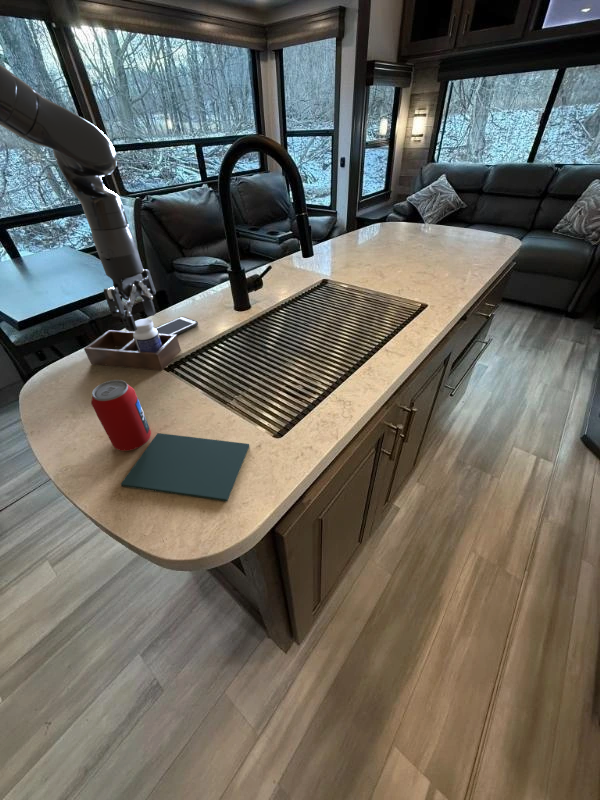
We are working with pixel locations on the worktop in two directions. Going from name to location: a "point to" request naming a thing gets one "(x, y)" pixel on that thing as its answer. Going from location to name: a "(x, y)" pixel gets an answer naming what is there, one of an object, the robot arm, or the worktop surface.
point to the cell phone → (176, 326)
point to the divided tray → (131, 351)
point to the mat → (188, 467)
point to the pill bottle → (146, 336)
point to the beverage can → (121, 414)
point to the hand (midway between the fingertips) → (142, 322)
